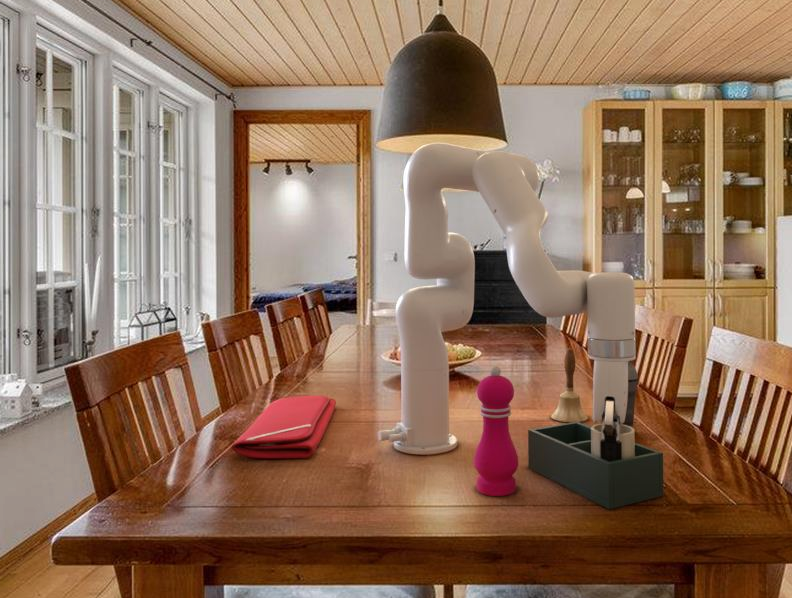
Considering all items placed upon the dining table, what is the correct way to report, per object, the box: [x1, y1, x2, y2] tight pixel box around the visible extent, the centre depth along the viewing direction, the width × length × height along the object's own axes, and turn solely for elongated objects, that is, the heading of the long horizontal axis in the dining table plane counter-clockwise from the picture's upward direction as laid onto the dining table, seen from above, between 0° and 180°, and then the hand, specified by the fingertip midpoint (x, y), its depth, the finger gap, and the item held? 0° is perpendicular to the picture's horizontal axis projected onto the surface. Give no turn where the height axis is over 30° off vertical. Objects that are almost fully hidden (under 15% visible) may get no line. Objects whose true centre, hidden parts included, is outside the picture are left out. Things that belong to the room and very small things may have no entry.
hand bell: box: [550, 348, 589, 423], centre depth 151 cm, size 8×8×16 cm
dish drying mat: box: [231, 395, 337, 459], centre depth 143 cm, size 16×41×4 cm, turn 4°
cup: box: [591, 422, 636, 459], centre depth 106 cm, size 7×7×9 cm
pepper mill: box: [473, 365, 519, 497], centre depth 107 cm, size 7×7×20 cm
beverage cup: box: [623, 361, 639, 428], centre depth 139 cm, size 7×7×20 cm
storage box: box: [527, 422, 665, 510], centre depth 111 cm, size 11×21×7 cm, turn 28°
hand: (612, 458), depth 106 cm, fingers closed on cup, 6 cm apart
